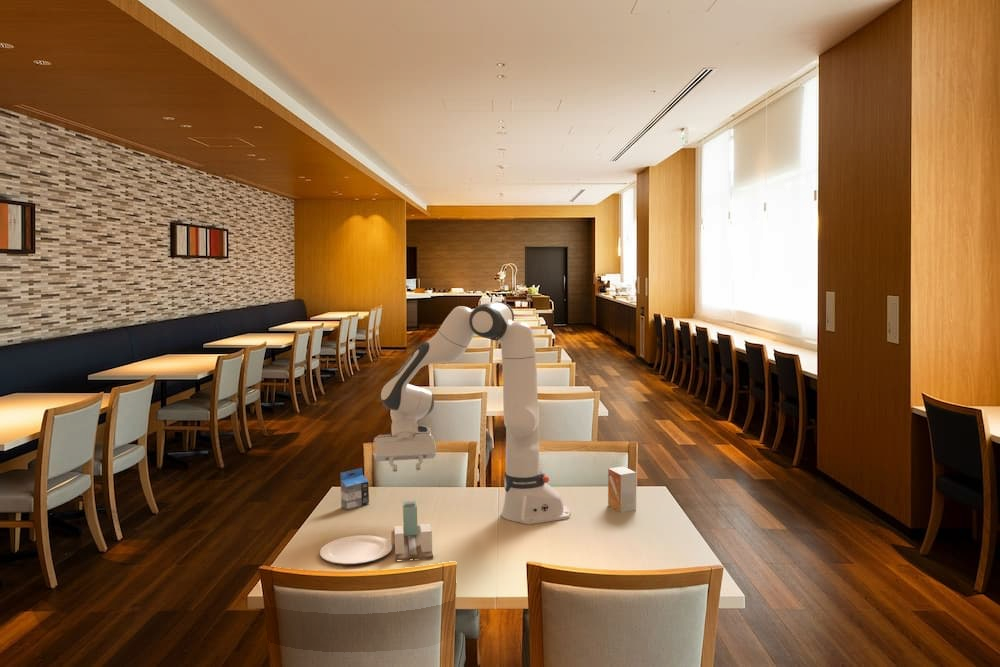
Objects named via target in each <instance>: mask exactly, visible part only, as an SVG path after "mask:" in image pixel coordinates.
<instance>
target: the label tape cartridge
mask: <svg viewBox="0 0 1000 667" xmlns="http://www.w3.org/2000/svg"><path fill="white" fill-rule="evenodd" d="M351 474H352V475H351ZM369 493H370V492H369V481H368V479H367V478H366V476H364V474H363V467H359V468H356V469H352V470H346V471H342V472H340V502H341V503H340V504H341V505H340V506H341V509H344V510H346V511H349V510H352V509H356V507H357V508H359V507H364V506H367V504H368V505H370V494H369ZM363 505H364V506H363Z"/></svg>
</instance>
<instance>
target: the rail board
mask: <svg viewBox="0 0 1000 667" xmlns="http://www.w3.org/2000/svg"><path fill="white" fill-rule="evenodd" d="M417 529H418V535H409V536H404V554H395V553H394V554H395V555H394V556H396V557H395V561H396V560H410V559H413V560H412V561H416V560H415V559H425V560H432V559H434V554H433V550H432V551H430V552H422V550H421V543H420V525H417ZM403 532H404V526H403ZM393 540H394V541H395V532H394V531H393Z"/></svg>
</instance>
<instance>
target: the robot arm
mask: <svg viewBox="0 0 1000 667" xmlns="http://www.w3.org/2000/svg"><path fill="white" fill-rule="evenodd" d="M476 335H477V336H478V337H480V338H485V339H489V340H492V341H498V342H499V343H500V347H501V349H500V350H501V366H502V392H503V393H502V396H503V397H502V398H503V401H502V402H503V404H502V406H503V423H504V426H505V428H506V431H505V433H506V434H505V472H504V477H503V478H504V480H503V482H504V484H503V486H504V490H505V494H504V501H503V507H502V511H501V517H502V518H504V519H506V520H508V521H512V522H518V523H521V524H524V525H534V524H541V523H547V522H554V521H559V520H566V519H569V518H570V516H571V513H570V509H569V507H567V506H566V505H565V504H564V503H563V499H562V496H561V494H560V493H559V492H558V491H557V490H556V489H555V488H553V487H552V486H550V485H549V484H548V483H549V481H550V477H549V476H548V475H546V474H545V473H544V472H542V471H540V407H539V398H538V374H537V373H538V372H537V370H538V368H537V353H536V350H537V349H536V344H535V343H536V342H535V338H534V334H533V330H532V327H531V325H529V324H528V323H526V322H522V321H515V312H514V311H513V309H512V307H511V306H510V305H509V304H507V303H506V302H504V301H489V302H488V301H487V302H485V303H482V304H479V305H477V306H476V307H475V308H474V309H472V308H471V307H468V306H464V305H462V306H461V305H459V306H456V307H454V308H453V309H452V310H451V311H450V313H449V314H448V315H447V316H446V318H444V321H443V322H442V324H441V325H440V327H439V329H438V331H436V333H435V334H434V335H433V336H432V337H431V338H429V339H428V340H426V341H423V342H421V343H419V344H418V345H417V347H415V348H414V350H413V351H412V352H411V353H410V355H409V356H408V357H407V358H406V359H405V361H404V362H403V364H402V365H401V366H400V368H398V370H397V371H396V372H395V374H394V375H393V376H392V377H391V378H390V379H389V380H387V382H386V383H385V384H384V385H383V386H382V388H381V391H380V401H381V403H382V404H383V407H384V408H385V409H386V410H390V418H391V421H392V422H391V427H390V428H391V433H389V434H378V435H377V436H375V437H374V439H373V445H374V446H375V449H374V452H375V453H374V455H375V456H374V458H375V461H377V462H388V464H389V465H390V467H392V472H394V473H395V472H398V464H395V463H394V461H410V460H418V463H415V471H421V467H422V464H423V462H424V460H426V459H434V458H436V456H437V447H436V442H435V438H434V436H433V435H432V432H431V428H430V427H429V426H425V425H421V424H418V423H417V422H418V420H422V419H423V418H425V417H427V416H428V415H429V414H430V413H431V412H432V411H433V410H434V406H435V398H434V397H435V396H434V395H433V392H432V391H431V390H429V389H428V388H424V387H421V386H418V385H417V386H416V385H413V384H410V382H411V381H412V379H413V378H414V376H415V375H416V374H417V373H418V372H419V370H420V369H421V368H423V367H424V366H428V365H432V364H434V365H435V364H449V363H450V364H451V363H453V362H456V361H458V360H459V359H460V358H461V357H463V355H464V354H465V352H466V350H467V348H468V347H469V345H470V343H471V341H472V340H473V338H474V337H475V336H476Z"/></svg>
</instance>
